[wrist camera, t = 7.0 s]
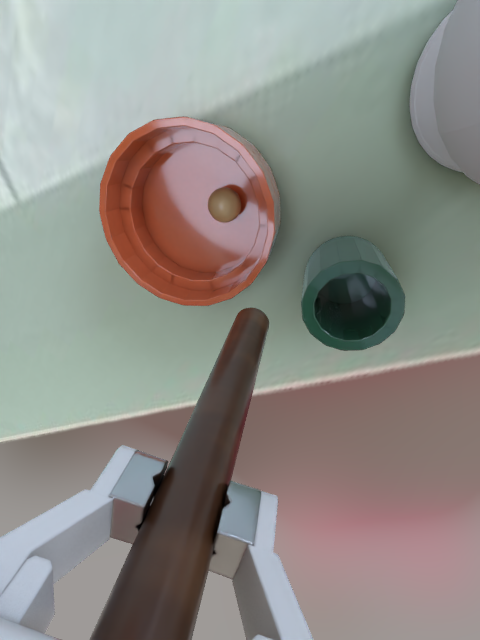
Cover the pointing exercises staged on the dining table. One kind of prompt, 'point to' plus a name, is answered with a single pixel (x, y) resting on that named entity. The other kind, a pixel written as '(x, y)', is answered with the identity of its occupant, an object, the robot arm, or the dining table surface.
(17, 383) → the dining table surface
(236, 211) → the bead
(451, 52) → the chalice
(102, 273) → the dining table surface
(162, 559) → the stick
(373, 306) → the utensil pot
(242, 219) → the bowl
